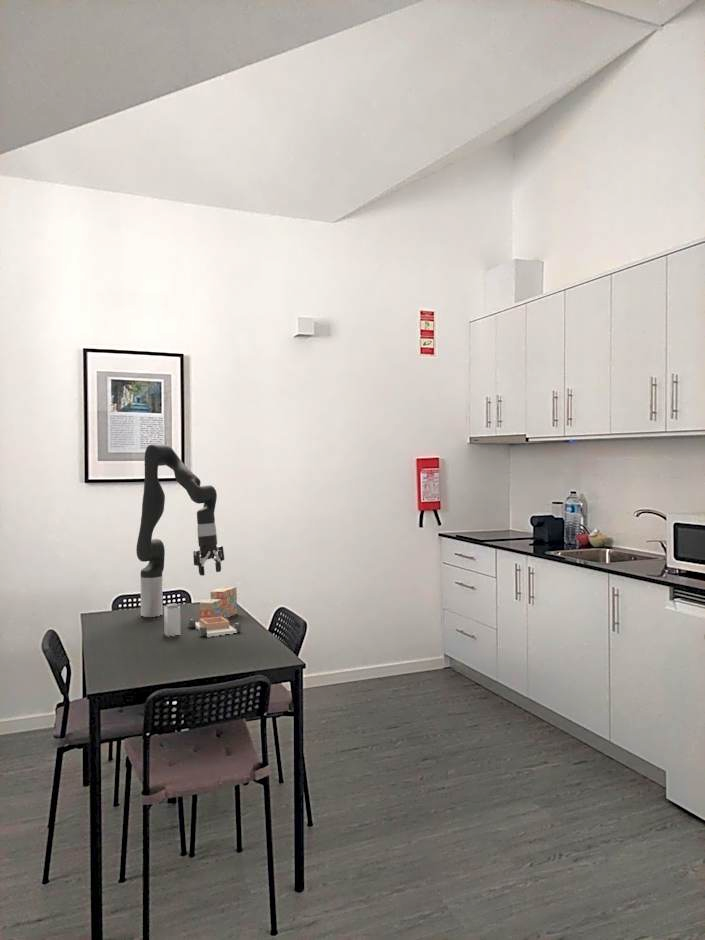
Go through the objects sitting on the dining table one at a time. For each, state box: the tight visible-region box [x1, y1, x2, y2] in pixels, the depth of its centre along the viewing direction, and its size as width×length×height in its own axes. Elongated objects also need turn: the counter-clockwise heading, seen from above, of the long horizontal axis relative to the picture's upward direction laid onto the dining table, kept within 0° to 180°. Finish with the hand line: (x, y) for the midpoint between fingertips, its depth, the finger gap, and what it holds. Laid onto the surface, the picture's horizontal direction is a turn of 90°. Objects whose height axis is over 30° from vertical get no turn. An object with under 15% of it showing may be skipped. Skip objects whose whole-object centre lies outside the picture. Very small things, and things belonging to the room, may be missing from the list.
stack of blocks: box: [199, 586, 238, 619], centre depth 320 cm, size 21×6×12 cm, turn 161°
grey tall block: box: [163, 603, 181, 638], centre depth 292 cm, size 5×5×12 cm
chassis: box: [187, 615, 242, 638], centre depth 300 cm, size 20×16×4 cm
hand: (210, 573), depth 306 cm, fingers open, 8 cm apart
